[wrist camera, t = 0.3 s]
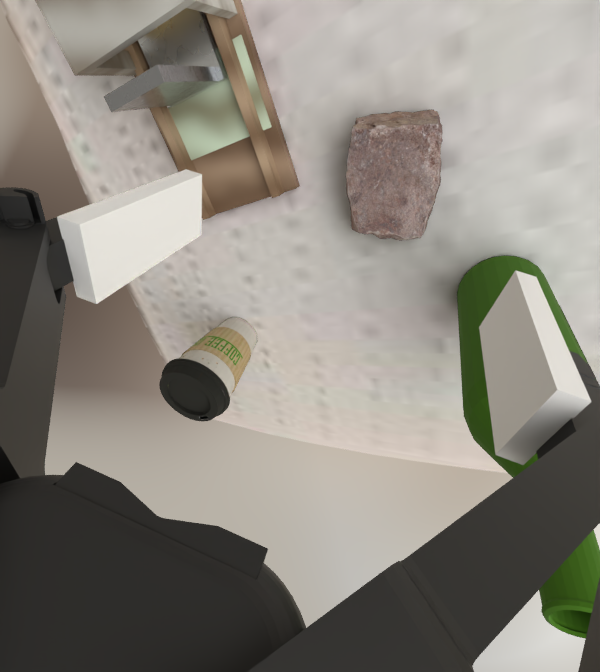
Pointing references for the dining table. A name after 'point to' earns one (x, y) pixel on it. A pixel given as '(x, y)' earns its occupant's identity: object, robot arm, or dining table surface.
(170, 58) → the grey u-shaped piece
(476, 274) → the wine bottle
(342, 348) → the dining table surface
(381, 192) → the stone
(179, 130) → the tunnel board
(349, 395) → the dining table surface
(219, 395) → the coffee cup
